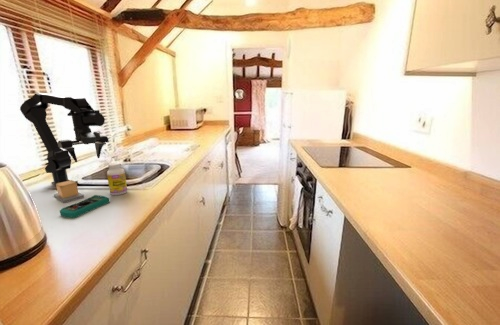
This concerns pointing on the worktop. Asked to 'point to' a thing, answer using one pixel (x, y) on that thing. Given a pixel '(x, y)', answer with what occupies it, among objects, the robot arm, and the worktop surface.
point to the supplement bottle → (116, 179)
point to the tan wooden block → (67, 188)
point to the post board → (69, 197)
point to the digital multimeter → (84, 206)
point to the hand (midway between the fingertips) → (87, 160)
